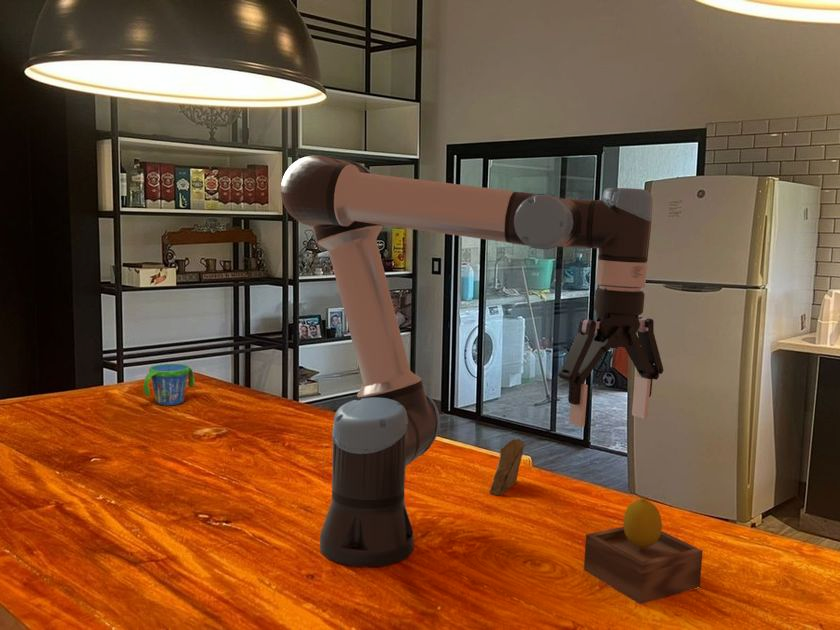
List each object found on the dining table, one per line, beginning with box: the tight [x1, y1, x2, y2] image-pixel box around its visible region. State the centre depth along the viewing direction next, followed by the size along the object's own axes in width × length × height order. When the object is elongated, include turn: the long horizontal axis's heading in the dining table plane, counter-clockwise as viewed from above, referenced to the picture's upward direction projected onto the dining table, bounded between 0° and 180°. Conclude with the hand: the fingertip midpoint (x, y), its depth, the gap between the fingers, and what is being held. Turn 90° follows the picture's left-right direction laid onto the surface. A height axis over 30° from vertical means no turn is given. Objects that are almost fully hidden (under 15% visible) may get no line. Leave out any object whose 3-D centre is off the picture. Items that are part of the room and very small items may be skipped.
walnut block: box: [583, 526, 703, 605], centre depth 119 cm, size 12×12×6 cm
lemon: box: [623, 497, 663, 550], centre depth 119 cm, size 6×6×8 cm
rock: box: [488, 438, 525, 496], centre depth 159 cm, size 11×9×10 cm
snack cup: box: [142, 363, 196, 406], centre depth 219 cm, size 16×10×10 cm
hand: (608, 420), depth 126 cm, fingers open, 13 cm apart
